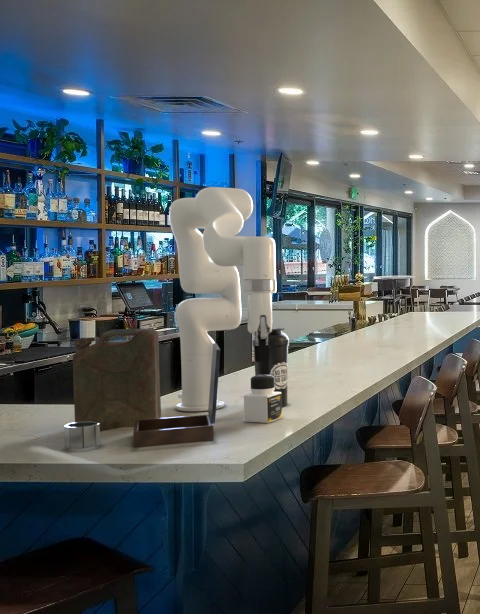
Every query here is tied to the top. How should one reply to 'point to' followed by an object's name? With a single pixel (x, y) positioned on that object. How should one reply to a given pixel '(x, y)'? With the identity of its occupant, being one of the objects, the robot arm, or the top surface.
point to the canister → (117, 378)
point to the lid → (214, 383)
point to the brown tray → (172, 430)
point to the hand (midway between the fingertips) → (261, 361)
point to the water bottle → (276, 362)
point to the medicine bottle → (262, 400)
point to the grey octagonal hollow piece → (82, 434)
